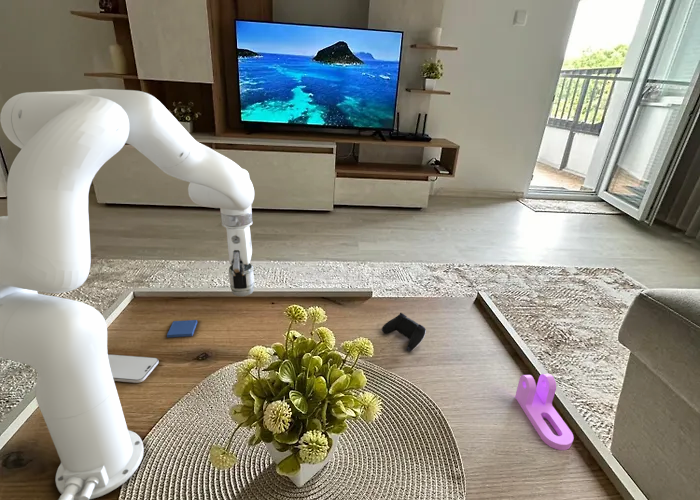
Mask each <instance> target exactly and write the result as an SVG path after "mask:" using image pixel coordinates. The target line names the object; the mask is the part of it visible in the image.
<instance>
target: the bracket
mask: <svg viewBox="0 0 700 500" xmlns="http://www.w3.org/2000/svg"><path fill="white" fill-rule="evenodd" d="M556 391H557V382H556V380H555V377H554V375H552V374H550V373H541V374H540V375H539V376H538V380H537V383H536V380H535V379H534V377H533V375H532V374H522V375H520V377H519V379H518V384H517V387H516V390H515V395H514V398H515V400H516V401H517V403H518V405H519V406H520V408H521V410H522V411H523V412H524V415H525V416H526V417H527V419H528V421H529V422H530V424H531V425H532V426H533V428H534V430H535V431H536V433H537V434H538V436H539V438H540V439H541V440H542V442H543V443H544V444H546V445H547V446H548V447H549V448H552V449H555V450H558V451H567V450H569V449H570V448H571V447H572V445H573V442H574V438H575V437H574V434H573V432H572V430H571V429H570V427H569V426H568V424H567V423H566V422H565V421H564V420H563V418H562V417H561V415H560V413H559V412H558V411H557V410H556V408H555V407H554V406H553V401H554V397H555V394H556ZM544 419H546V420H547V421H548V422H549V423H550V425H551V427H552V428H553V430H554V431H555V433H556V434H554V432H553V431H552V430H551V428H550V426H549V425H548V424H547V423H546V421H545V420H544Z"/></svg>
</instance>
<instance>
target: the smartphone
mask: <svg viewBox="0 0 700 500" xmlns="http://www.w3.org/2000/svg"><path fill="white" fill-rule="evenodd" d="M108 359H109V364H110V368H111V372H112V376H113V380H114V382H123V383H134V384H135V383H136V384H138V383H143V382H144V381H145V380H146V379H147V378H148V376H150V374H151V373H152V372H153V371H154V370H155V368H156V367H157V366H158V364H159V363H160V362H159V358H157V357H149V356H148V357H147V356H136V355H135V356H134V355H124V354H123V355H122V354H110V353H108Z"/></svg>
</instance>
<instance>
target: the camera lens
mask: <svg viewBox="0 0 700 500" xmlns="http://www.w3.org/2000/svg"><path fill="white" fill-rule="evenodd" d="M240 263H242V262H240ZM240 268H241V269H242V266H240ZM245 274H246V281H247V288H245V289H235V288H234V282H233V265H231V264H230V266H229V268H228V277H229V278H228V279H229V286H230V290H231V293H232V294H233V296H237V297H247V296H249V295H252V294H253V292H254V289H255V274H254V266H253V265H252V264H251V262H250V263H249V264H248V265H247V264H245Z"/></svg>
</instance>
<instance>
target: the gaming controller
mask: <svg viewBox="0 0 700 500" xmlns="http://www.w3.org/2000/svg"><path fill="white" fill-rule="evenodd" d="M381 332H382V333H383V335H387V334H388V335H389V334H391V333H393V332H398V333H399V334H401V335H402V336H404V337H405V338H406V339H408V343H407V347H406V350H407V351H408V352H413V351H414V350H415V349H416V348H417V347H419V345H421V343H422V342H423V340H424V339H425V336H426V334H427V333H426V332H427V329H426V328H425V326H423V325H422V324H419V323H418V322H416V321H415V320H413V319H411V318H409V317H407V315H406V314H405V313H403V312H400V313H399V314H398V315H396V316H395V317H393V318H392V319H390V320H388V321H387V322H385V323H384V324H383V326H382V327H381Z"/></svg>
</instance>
